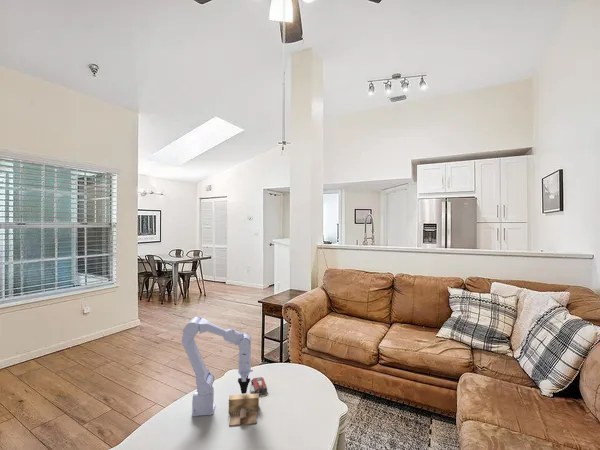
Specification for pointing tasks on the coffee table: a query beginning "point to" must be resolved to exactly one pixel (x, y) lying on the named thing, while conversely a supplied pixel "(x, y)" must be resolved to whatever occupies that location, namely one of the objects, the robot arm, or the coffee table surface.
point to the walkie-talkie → (258, 386)
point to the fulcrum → (243, 418)
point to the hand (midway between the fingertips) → (244, 388)
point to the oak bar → (243, 402)
